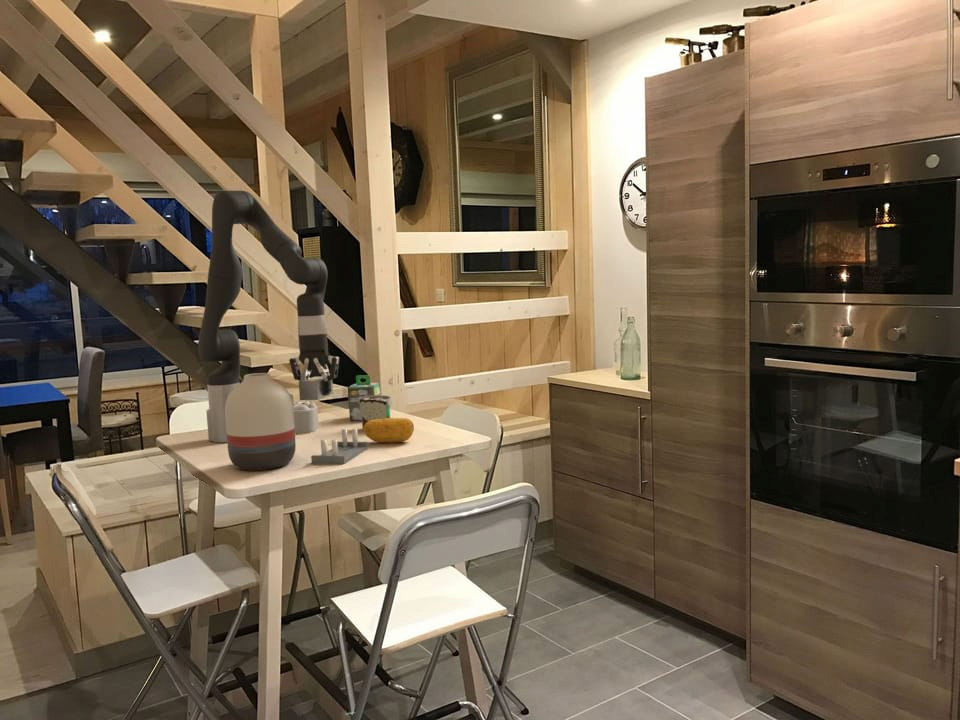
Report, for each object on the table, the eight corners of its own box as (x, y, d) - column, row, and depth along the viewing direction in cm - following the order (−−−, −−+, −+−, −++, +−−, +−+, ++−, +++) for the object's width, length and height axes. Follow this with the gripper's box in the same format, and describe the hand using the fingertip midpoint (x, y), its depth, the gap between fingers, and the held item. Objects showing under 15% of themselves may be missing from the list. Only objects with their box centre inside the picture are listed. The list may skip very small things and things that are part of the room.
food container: (402, 427, 243) (400, 396, 242) (389, 431, 238) (387, 399, 236) (371, 424, 249) (370, 394, 248) (359, 428, 244) (357, 397, 243)
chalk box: (382, 415, 266) (379, 372, 264) (376, 420, 256) (373, 376, 255) (355, 416, 266) (353, 373, 265) (348, 421, 257) (346, 377, 256)
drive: (299, 400, 205) (298, 381, 204) (315, 394, 214) (314, 376, 214) (318, 400, 204) (316, 380, 203) (333, 394, 213) (331, 375, 213)
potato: (369, 439, 227) (367, 416, 226) (417, 439, 224) (416, 415, 224) (361, 445, 219) (360, 420, 219) (411, 445, 217) (410, 420, 216)
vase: (278, 454, 212) (272, 368, 209) (308, 464, 199) (302, 373, 197) (218, 466, 201) (211, 375, 198) (246, 477, 188) (239, 381, 186)
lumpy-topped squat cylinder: (280, 434, 239) (278, 407, 238) (290, 426, 252) (288, 400, 251) (314, 433, 239) (312, 405, 238) (322, 425, 252) (320, 398, 251)
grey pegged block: (311, 463, 200) (310, 441, 199) (337, 448, 216) (336, 428, 216) (344, 463, 198) (342, 441, 197) (367, 448, 214) (366, 428, 214)
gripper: (281, 334, 205) (286, 397, 207) (331, 332, 202) (336, 396, 204) (294, 332, 213) (298, 393, 214) (342, 330, 209) (347, 392, 211)
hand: (317, 394), depth 209 cm, fingers closed on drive, 5 cm apart
